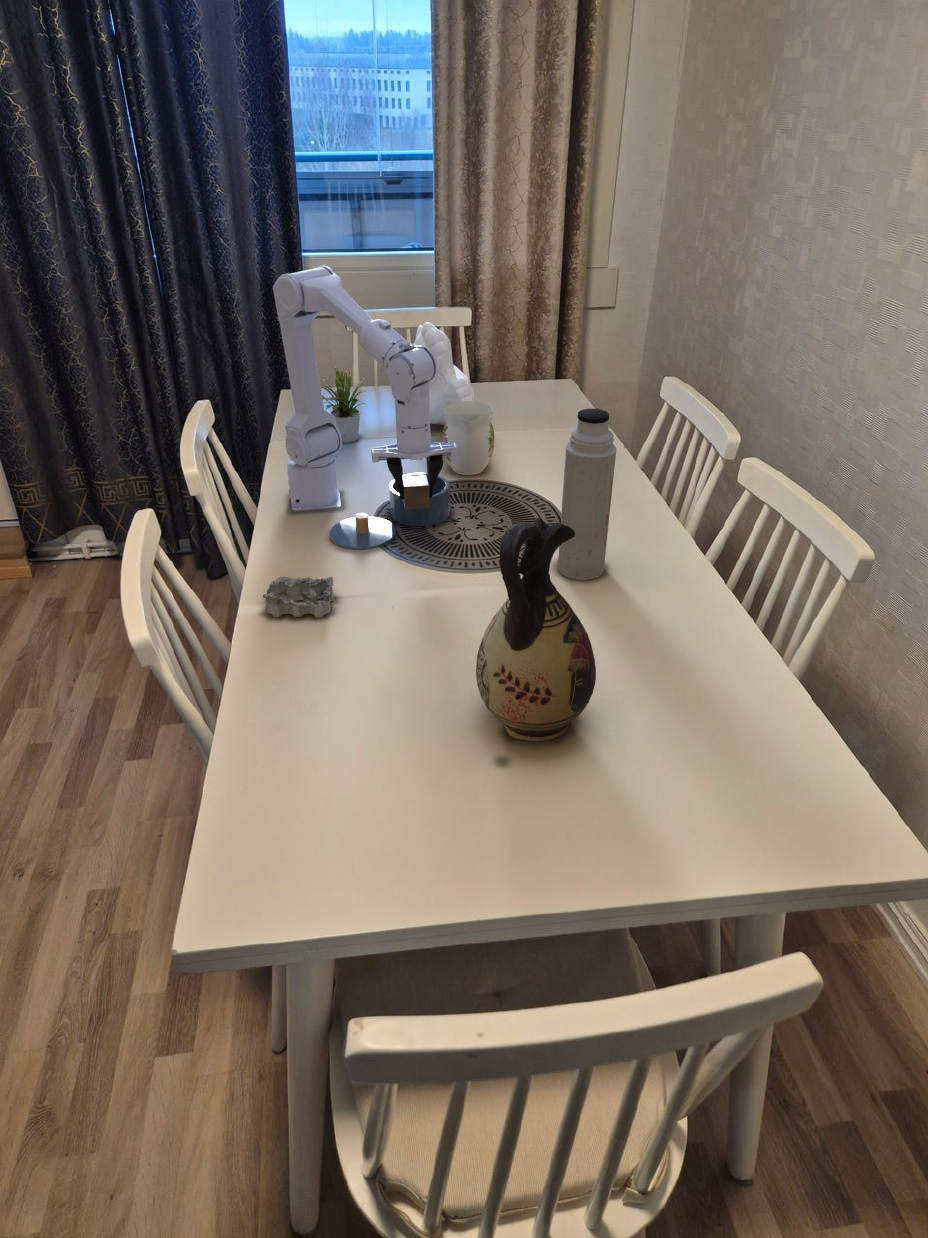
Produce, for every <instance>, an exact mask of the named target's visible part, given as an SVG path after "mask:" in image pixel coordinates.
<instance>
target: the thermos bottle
mask: <svg viewBox="0 0 928 1238" xmlns="http://www.w3.org/2000/svg"><path fill="white" fill-rule="evenodd" d="M577 419H578V420H577V426H576V428H574V429H573V430H572V431H571V436H570V438H569V442H567V443H566V445H565V456H564V468H563V470H564V471H563V484H562V485H563V486H562V499H561V513H560V514H561V516H560V517H561V521H560V523H561V524H563V525H566V526H568V527H570V528H571V529H572V530H574V532H575V536H574V537H573V538H572V539H570V540H568V541H566V542H564V543H562V544H561V545H560V546H559V547H558V557H557V570H558V572H559V573H560V574H561V575H563V576H564V577H566V578H569V579H572V580H577V581H590V580H595V579H597V578H599V577H600V576H601V575H603V573H604V570H605V563H606V562H605V561H606V554H607V553H606V552H607V544H608V543H607V542H608V533H609V524H610V512H611V505H612V496H613V487H614V476H615V468H616V458H617V457H616V456H617V447H616V445H615V444H614V441H615V438H614V433H613V432H612V431H611V430H610V428H609V427H610V421H609V420H610V413H609V412H608V411H606V410H604V409H601V408H594V407H593V408H584V409H581V410H579V411H578V412H577Z"/></svg>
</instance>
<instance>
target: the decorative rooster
mask: <svg viewBox="0 0 928 1238" xmlns="http://www.w3.org/2000/svg"><path fill="white" fill-rule="evenodd" d="M413 344H414V345H416V346H425V347H427V349H428V350H429V351H430V352H431V353H432V355H433V357H434V359H435V362H436V374H435V376H434V378H433V379H432V380H430V381H429V396H430V425H434V424H435V425H440V426H444V425H445V422H446V420H445V415H444V408H445V407H446V406H447V405H450V404H452V403H456V402H465V401H472V402H474V398H475V393H474V389H473V387H472V384H471V382H470V379H469V378H468V377H467V376H466V375H465V374H464V373H463V372H462V371H461V369H460V368H459V367H457V366H456V365H455V364H454V361H453V352H452V344H451V341H450V338H449V337H448V336H447V334H446V333H445V332H444V331H442V330H440V329H438V327H436V325H434V324H433V323H432V322H430V321H425V322H424V323H423V324H419V325H418V327H417V330H416V333H415V340H414V343H413ZM427 383H428V382H427Z"/></svg>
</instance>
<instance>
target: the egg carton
mask: <svg viewBox="0 0 928 1238" xmlns="http://www.w3.org/2000/svg"><path fill="white" fill-rule="evenodd" d="M333 586H334V577H333V576H330V577H325V578H324V577H322V578H320V579H319V578H317V577H315V578H314V579H313V577H310V576H308V577H296V578H295V577H289V576H285V575H284V576H279V577H276V578H275V579H273V580H272V581H271V582H270V583H269V586H268V588H267V590H266V593H264V594H263V595H262V599H264V600H265V601H264V603H265V609H266V614H269V615H271V616H272V617H273V618H280V617H281V616H282V615H285V614H290V615H292V616H293V618H301V617H303V616H305V615H309V614H311V615H314V617H315V618H322V617H323V616H325V615H328V614H330V613H331V610H332V609H331V602H333V601H334V599H335V598H334V589H333V588H334V587H333ZM281 593H285V594H286V596H289V597H296V596H298V595H300V594H301V596H302V599H295V600H293V599H292V598H289V599H287V598H285V597H278V595H280V594H281ZM321 594H322V596H323V597H320V598H319V597H318V596H319V595H321Z"/></svg>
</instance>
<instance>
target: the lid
mask: <svg viewBox="0 0 928 1238" xmlns="http://www.w3.org/2000/svg"><path fill="white" fill-rule="evenodd" d="M396 535H397V528H396V526H395V525H394V523H392V522H391V521H389V520H387V519H385V518H382V517H378V516H377V517H376V516H369V514H368V513H366V512H359V513H356V514H355V515H354V517H349V518H346V519H343V520H340V521H339V522H337V523H335V524H334V525H333V526H332V527H331V528H330V530H329V539H330V541H331V542H332V543H333V544H334V545H336V546H338V547H340V548H343V549H348V550H355V551H358V550H359V551H360V550H363V551H364V550H371V549H377V548H379V547H383V546H386V545H387V544H389V543H391V541H392V540H394V539H395V538H396Z"/></svg>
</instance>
